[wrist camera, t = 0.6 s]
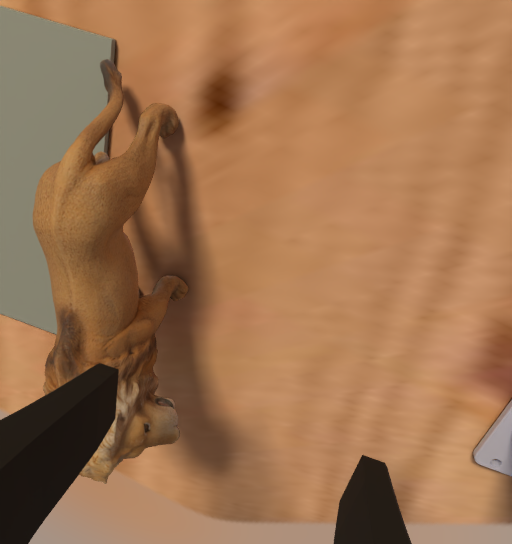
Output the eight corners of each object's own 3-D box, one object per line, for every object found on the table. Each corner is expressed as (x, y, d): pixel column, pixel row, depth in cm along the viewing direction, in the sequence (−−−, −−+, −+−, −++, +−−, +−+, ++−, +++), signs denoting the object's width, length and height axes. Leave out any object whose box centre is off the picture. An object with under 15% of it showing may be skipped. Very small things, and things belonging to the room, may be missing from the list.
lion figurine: (224, 355, 23) (163, 511, 16) (133, 353, 25) (33, 497, 17) (170, 51, 17) (20, 54, 9) (51, 67, 18) (-175, 81, 10)
